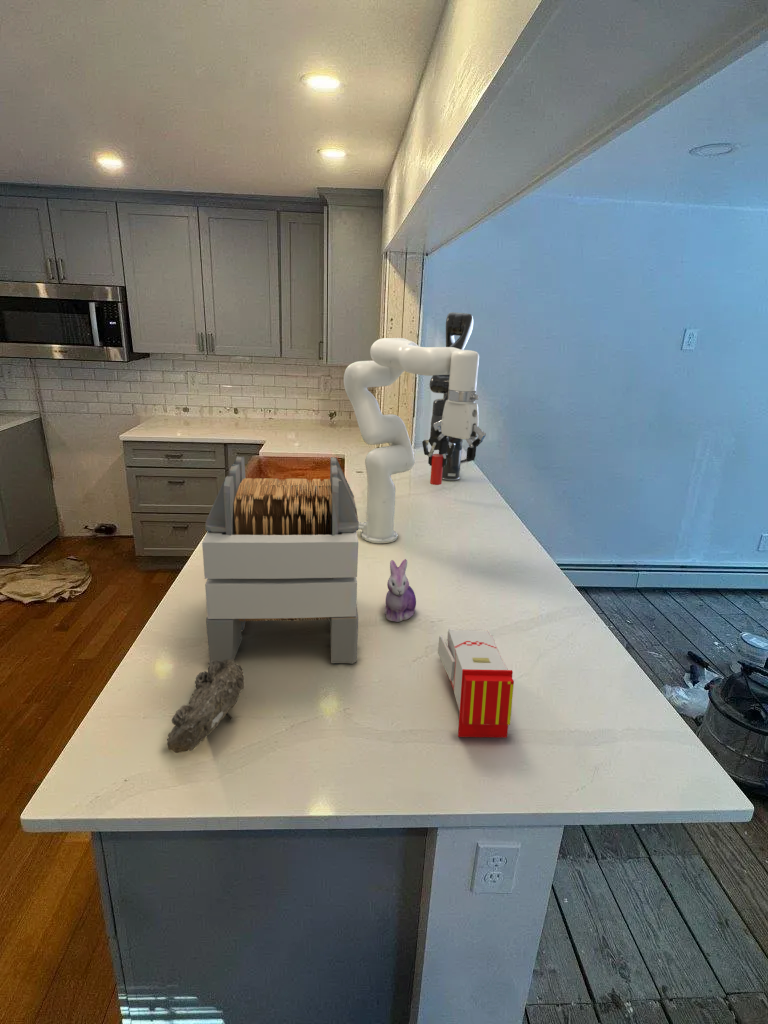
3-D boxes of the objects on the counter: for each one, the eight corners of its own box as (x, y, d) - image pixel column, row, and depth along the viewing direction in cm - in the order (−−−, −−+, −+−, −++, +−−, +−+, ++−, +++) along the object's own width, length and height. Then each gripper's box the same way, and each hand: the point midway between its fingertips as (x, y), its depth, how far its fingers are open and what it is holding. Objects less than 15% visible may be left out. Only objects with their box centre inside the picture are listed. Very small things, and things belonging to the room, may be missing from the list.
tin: (441, 482, 240) (444, 454, 236) (441, 485, 236) (443, 457, 231) (430, 481, 241) (432, 453, 237) (429, 484, 237) (431, 456, 232)
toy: (488, 613, 130) (523, 677, 101) (484, 667, 133) (517, 744, 104) (435, 612, 130) (455, 676, 101) (432, 666, 133) (451, 743, 103)
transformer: (229, 593, 154) (221, 446, 140) (350, 592, 157) (353, 448, 144) (206, 668, 122) (192, 488, 108) (358, 664, 126) (363, 489, 112)
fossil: (192, 660, 117) (244, 628, 112) (224, 691, 120) (276, 661, 115) (142, 746, 98) (202, 712, 93) (182, 779, 101) (242, 748, 96)
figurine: (392, 627, 141) (395, 572, 136) (374, 608, 149) (376, 556, 144) (425, 619, 145) (429, 566, 140) (405, 601, 154) (408, 550, 149)
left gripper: (495, 399, 153) (489, 461, 159) (444, 391, 164) (440, 449, 170) (480, 402, 148) (473, 465, 154) (428, 393, 159) (424, 453, 165)
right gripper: (459, 425, 231) (455, 465, 237) (425, 422, 235) (422, 461, 241) (455, 429, 225) (452, 470, 231) (420, 425, 229) (418, 466, 235)
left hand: (456, 457), depth 162 cm, fingers open, 9 cm apart
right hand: (437, 465), depth 236 cm, fingers closed on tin, 4 cm apart
